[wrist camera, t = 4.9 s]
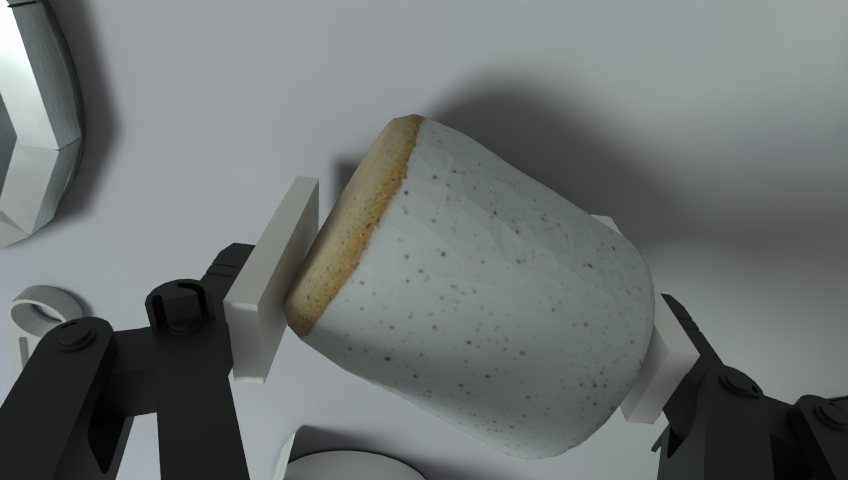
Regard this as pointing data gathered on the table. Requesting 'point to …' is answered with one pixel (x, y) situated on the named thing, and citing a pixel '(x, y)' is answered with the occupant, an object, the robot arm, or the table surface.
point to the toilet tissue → (341, 466)
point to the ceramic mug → (475, 293)
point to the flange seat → (35, 118)
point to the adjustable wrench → (36, 320)
